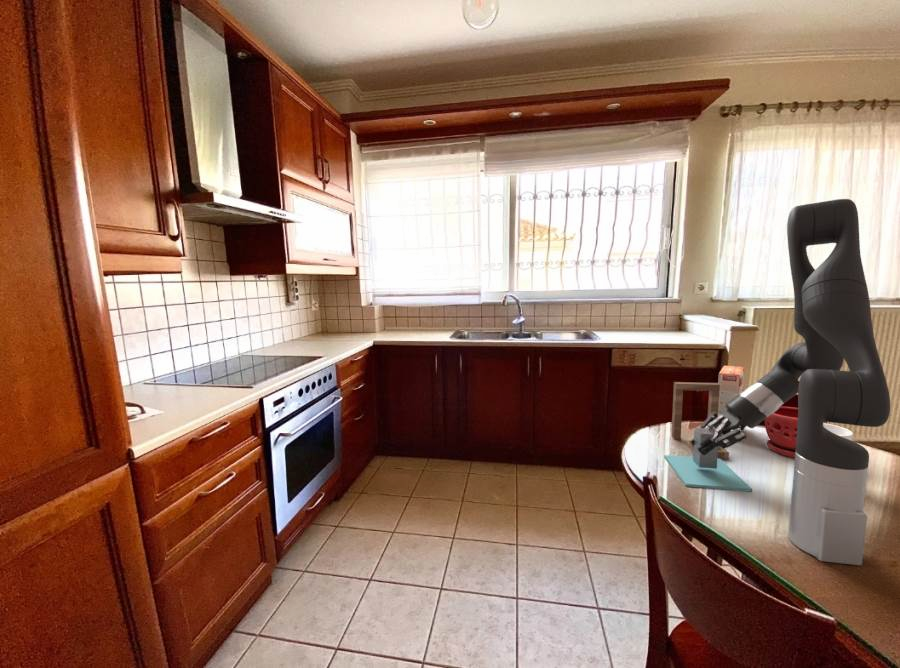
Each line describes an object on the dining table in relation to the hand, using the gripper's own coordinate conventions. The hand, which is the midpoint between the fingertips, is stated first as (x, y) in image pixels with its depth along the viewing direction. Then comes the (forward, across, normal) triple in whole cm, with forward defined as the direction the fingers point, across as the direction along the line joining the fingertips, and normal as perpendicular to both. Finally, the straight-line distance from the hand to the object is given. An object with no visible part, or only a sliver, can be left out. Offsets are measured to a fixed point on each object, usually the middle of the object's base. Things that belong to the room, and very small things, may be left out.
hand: (696, 448), depth 98 cm
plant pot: (-17, -17, +27) cm, 36 cm away
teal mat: (+3, 0, +6) cm, 7 cm away
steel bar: (+2, 0, +4) cm, 5 cm away
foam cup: (-15, -1, +24) cm, 29 cm away
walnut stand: (-1, -17, +10) cm, 20 cm away
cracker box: (-10, -31, +20) cm, 38 cm away
